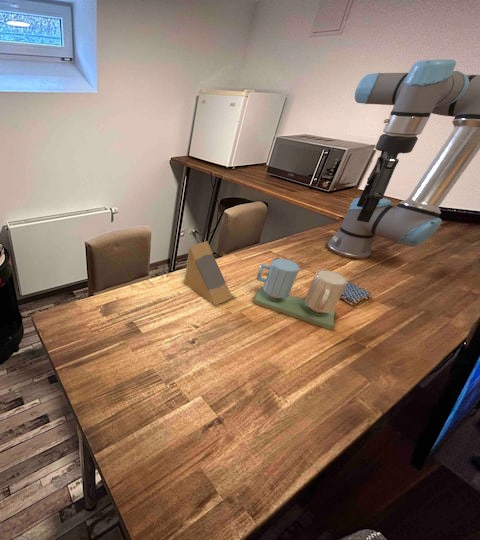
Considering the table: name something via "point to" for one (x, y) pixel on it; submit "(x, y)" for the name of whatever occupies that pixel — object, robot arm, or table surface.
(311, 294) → the cream cup
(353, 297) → the woven mat
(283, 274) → the blue cup
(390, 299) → the table surface
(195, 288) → the sandwich container
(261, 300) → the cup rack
